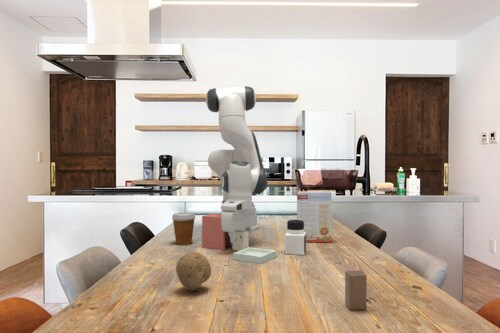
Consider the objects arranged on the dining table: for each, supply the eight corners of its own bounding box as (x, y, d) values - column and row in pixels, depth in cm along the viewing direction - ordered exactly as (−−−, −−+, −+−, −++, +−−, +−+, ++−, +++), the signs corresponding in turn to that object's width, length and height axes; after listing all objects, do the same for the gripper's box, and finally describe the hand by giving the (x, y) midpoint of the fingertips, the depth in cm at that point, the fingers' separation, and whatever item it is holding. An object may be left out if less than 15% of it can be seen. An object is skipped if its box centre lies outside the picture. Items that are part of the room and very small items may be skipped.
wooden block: (361, 304, 96) (361, 270, 96) (366, 310, 92) (367, 275, 92) (344, 304, 96) (344, 270, 96) (349, 310, 92) (349, 275, 92)
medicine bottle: (304, 255, 146) (304, 221, 146) (284, 254, 147) (284, 221, 147) (305, 250, 153) (306, 218, 153) (286, 250, 154) (286, 218, 154)
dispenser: (215, 243, 167) (215, 213, 166) (235, 246, 161) (235, 215, 161) (201, 247, 159) (201, 216, 159) (223, 250, 154) (223, 217, 154)
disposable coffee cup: (183, 246, 160) (183, 216, 160) (167, 243, 166) (166, 214, 166) (200, 243, 168) (200, 213, 167) (184, 240, 173) (184, 212, 173)
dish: (249, 253, 149) (249, 247, 149) (276, 256, 143) (276, 250, 143) (233, 259, 140) (233, 253, 140) (261, 263, 134) (261, 257, 134)
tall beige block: (237, 248, 158) (237, 230, 158) (248, 249, 155) (248, 231, 155) (232, 249, 155) (232, 231, 155) (243, 251, 152) (243, 232, 152)
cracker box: (330, 240, 173) (330, 190, 173) (331, 243, 167) (331, 191, 167) (296, 239, 175) (297, 190, 174) (297, 242, 169) (297, 191, 168)
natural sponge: (195, 282, 113) (195, 246, 113) (218, 289, 108) (218, 251, 108) (169, 290, 106) (169, 252, 106) (192, 298, 101) (192, 257, 101)
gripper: (247, 201, 165) (247, 235, 165) (218, 205, 148) (218, 244, 148) (261, 202, 162) (261, 236, 162) (232, 206, 144) (232, 246, 145)
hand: (240, 240), depth 155 cm, fingers open, 8 cm apart
